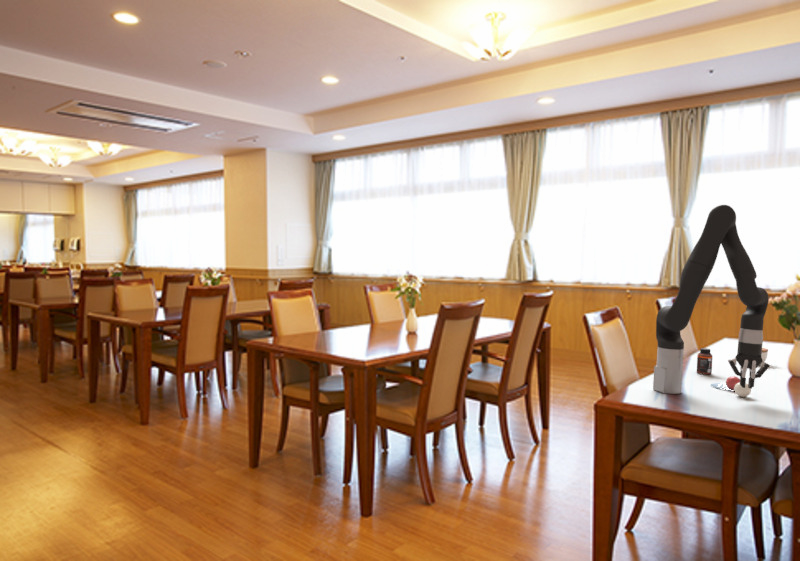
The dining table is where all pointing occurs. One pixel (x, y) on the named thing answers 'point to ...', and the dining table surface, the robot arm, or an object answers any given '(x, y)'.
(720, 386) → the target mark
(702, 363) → the supplement bottle
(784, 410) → the dining table surface
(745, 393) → the cue ball
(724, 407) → the dining table surface
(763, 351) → the lidded jar
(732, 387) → the red ball
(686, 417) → the dining table surface
